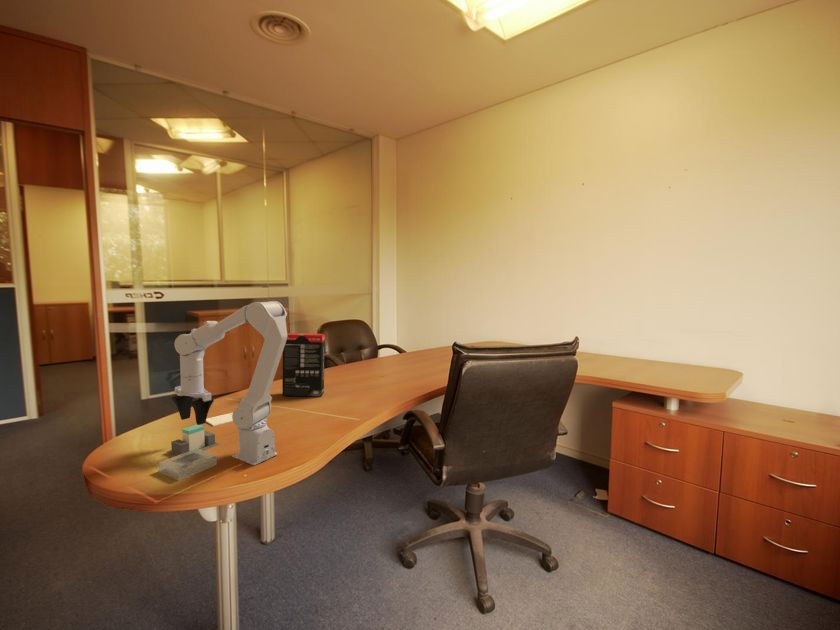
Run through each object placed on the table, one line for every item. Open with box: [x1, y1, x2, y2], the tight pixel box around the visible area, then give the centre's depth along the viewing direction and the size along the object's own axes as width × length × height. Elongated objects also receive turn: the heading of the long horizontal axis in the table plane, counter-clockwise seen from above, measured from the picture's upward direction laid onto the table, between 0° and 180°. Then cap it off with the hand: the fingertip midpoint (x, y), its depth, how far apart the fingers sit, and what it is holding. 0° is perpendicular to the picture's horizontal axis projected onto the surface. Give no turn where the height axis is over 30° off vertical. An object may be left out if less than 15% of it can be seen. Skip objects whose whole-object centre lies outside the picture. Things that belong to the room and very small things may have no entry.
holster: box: [166, 430, 220, 456], centre depth 112 cm, size 8×11×4 cm
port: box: [158, 448, 218, 482], centre depth 100 cm, size 9×10×3 cm
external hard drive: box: [205, 412, 233, 427], centre depth 137 cm, size 2×8×12 cm
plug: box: [181, 424, 205, 451], centre depth 112 cm, size 3×4×6 cm
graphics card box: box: [281, 332, 326, 398], centre depth 168 cm, size 17×7×27 cm, turn 94°
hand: (193, 421), depth 112 cm, fingers open, 7 cm apart
